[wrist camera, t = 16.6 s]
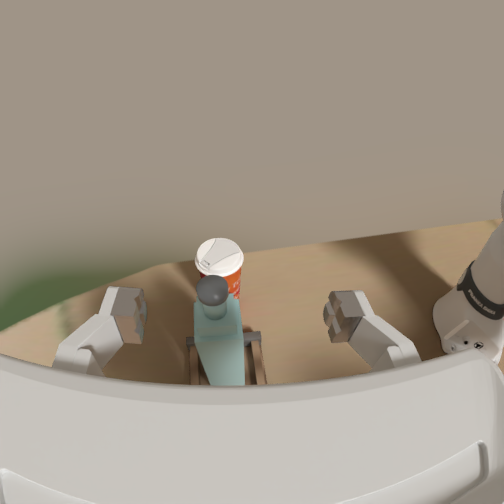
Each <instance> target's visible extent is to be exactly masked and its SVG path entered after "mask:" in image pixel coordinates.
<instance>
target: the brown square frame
mask: <svg viewBox="0 0 504 504" xmlns="http://www.w3.org/2000/svg"><path fill="white" fill-rule="evenodd" d="M243 338H244V372H245V385H263V384H267V381H266V375H265V368H264V362H263V356H262V350H261V333H260V331H257V332H247V333H243ZM186 345H187V347H188V349H189V364H190V385H210V382H209V380H208V377H207V375H206V372H205V370H204V367H203V364H202V362H201V359H200V356H199V354H198V351H197V348H196V345H195V343H194V337H186Z"/></svg>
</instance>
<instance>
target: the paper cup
mask: <svg viewBox="0 0 504 504" xmlns="http://www.w3.org/2000/svg"><path fill="white" fill-rule="evenodd" d="M242 263H243V253H242V251H241V250H240V248H239V247H238V245H237V244H236V243H235V242H233V241H231V240H229V239H225V238H214V239H210V240H208V241H206V242H204V243H203V244H202V245H201V246H200V247H199V249H198V251H197V254H196V256H195V264H196V267H197V268H198V270H199V272H200V275H201V279H202V278H203V277H205V276H208V275H219V276H221V277H223V278H224V279H225V280H226V281H227V283H228V290H229V294H231V293H233V296H234V299H239V292H240V276H241V265H242Z"/></svg>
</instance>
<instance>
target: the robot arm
mask: <svg viewBox="0 0 504 504" xmlns="http://www.w3.org/2000/svg"><path fill="white" fill-rule="evenodd" d="M501 213H502V218H503V221H502V223H501V224H500V225H499V226H498V228H497V229H496V230H495V231H494V232H493V233H492V234H491V236H490V238H489V239H488V241H487V243H486V244H485V246H484V247H483V249H482V251H481V252H480V254H479V255H478V257H477V258H476V260H474V261H473V262H472V263H471V264H470V265H469V267H468V268H466V270H465V271H464V273H463V274H462V276H461V277H460V279H459V281H458V283H457V285H456V286H455V287H454V288H453V289H452V290H451V291H449V292H448V293H447V294H446V295H444V296H443V297H441V298H440V299H438V300H437V302H436V303H435V305H434V308H433V320H434V324H435V327H436V329H437V331H438V333H439V335H440V338H441V344H442V348H443V350H444V352H445V353H447V354H448V355H444V356H441V357H437V358H433V359H430V360H426V361H421V358H420V356H419V354H418V352H417V350H416V348H415V346H414V344H413V342H412V341H411V340H409V339H408V338H407V337H405V336H404V335H403V334H401V333H400V332H399V331H398V330H396V329H395V328H394V327H392V326H391V325H390V324H388V323H387V322H386V321H384V320H383V319H382V318H380V317H379V316H378V315H377V316H375V314H374V312H373V310H372V308H371V306H370V304H369V302H368V300H367V298H366V296H365V294H364V292H363V291H362V290H352V291H332V292H331V293H330V294H329V297H328V298H329V302H328V303H326V304H325V307H324V311H323V317H324V322H325V324H326V325H327V326H328V327H329V330H328V334H329V337H330V340H331V343H341V342H348V344H349V345H350V346H351V347H352V348H353V349H354V350H355V351H356V352H357V353H358V354H359V355H360V356H361V357H362V358H363V359H364V360H365V361H366V362H367V363H368V364H369V365H370V366H371V367H372V369H371V370H370V371H369V373H365V374H359V375H352V376H346V377H339V378H331V379H323V380H315V381H305V382H294V383H281V384H263V385H182V384H165V383H152V382H141V381H131V380H123V379H115V378H107V377H105V375H104V373H103V372H102V369H103V367H104V366H105V365H106V364H107V363H108V362H109V360H110V359H111V358H112V357H113V356H114V355H115V353H116V352H117V351H118V350H119V349H120V347H121V346H122V345H123V343H134V344H142V340H143V335H144V329H143V325H144V324H146V319H147V306H146V302H145V301H144V300H143V298H144V292H143V289H141V288H128V287H114V286H109V287H108V288H107V291H106V293H105V296H104V299H103V302H102V305H101V307H100V310H99V313H98V314H95V315H93V316H92V317H91V318H90V319H89V320H87V321H86V322H85V323H84V324H83V325H81V326H80V327H79V328H78V329H77V330H75V331H74V332H73V333H72V334H71V335H70V336H68V337H67V338H66V339H65V340H64V341H63V342H61V343H60V344H59V347H58V350H57V353H56V356H55V359H54V362H53V365H52V367H48V366H44V365H40V364H36V363H32V362H28V361H24V360H21V359H17V358H14V357H10V356H7V355H4V354H0V504H504V375H503V373H502V372H501V370H500V369H499V367H498V366H497V364H498V362H499V360H500V357H501V354H502V349H503V346H504V191H503V194H502V199H501ZM451 348H452V349H451Z"/></svg>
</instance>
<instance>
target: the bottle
mask: <svg viewBox="0 0 504 504" xmlns="http://www.w3.org/2000/svg"><path fill="white" fill-rule="evenodd" d="M196 291H197V295H198V296H197V302H194V343H195V345H196V348H197V351H198V354H199V356H200V359H201V362H202V364H203V367H204V370H205V372H206V375H207V377H208V380H209V382H210V385H245V372H244V338H243V330H242V322H241V314H240V306H239V299H234V296H233V293H231V294H229V290H228V283H227V281H226V280H225V279H224V278H223V277H221V276H219V275H208V276H205V277H203V278H202V279H200V280H199V282H198V283H197V286H196Z"/></svg>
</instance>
